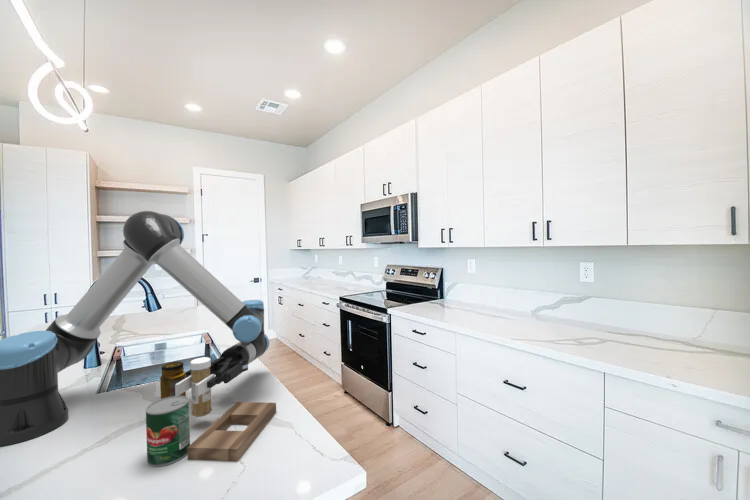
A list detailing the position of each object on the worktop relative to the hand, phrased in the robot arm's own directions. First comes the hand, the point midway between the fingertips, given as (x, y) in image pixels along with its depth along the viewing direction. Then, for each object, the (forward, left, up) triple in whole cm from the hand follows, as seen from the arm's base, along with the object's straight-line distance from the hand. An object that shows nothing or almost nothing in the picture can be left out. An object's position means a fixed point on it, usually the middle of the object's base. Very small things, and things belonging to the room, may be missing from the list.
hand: (186, 390), depth 77 cm
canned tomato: (0, -6, -11) cm, 13 cm away
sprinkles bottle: (0, +5, -8) cm, 10 cm away
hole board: (+11, +2, -11) cm, 16 cm away
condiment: (-14, +13, -11) cm, 23 cm away
